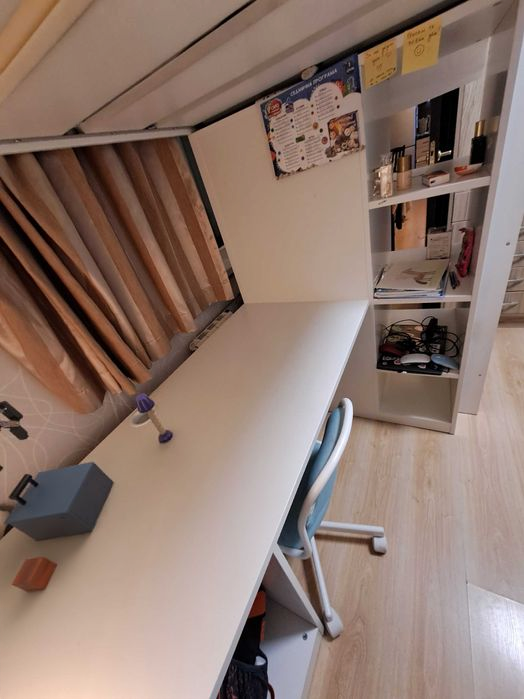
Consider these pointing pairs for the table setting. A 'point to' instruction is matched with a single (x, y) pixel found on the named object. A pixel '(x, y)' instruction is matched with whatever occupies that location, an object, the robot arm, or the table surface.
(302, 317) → the table surface
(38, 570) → the block
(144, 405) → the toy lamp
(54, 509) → the lid
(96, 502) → the blue storage chest
